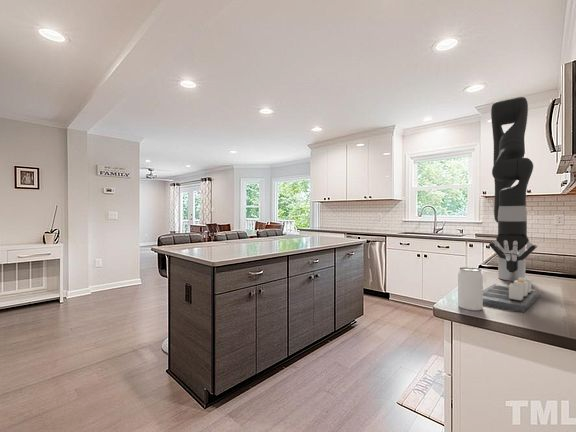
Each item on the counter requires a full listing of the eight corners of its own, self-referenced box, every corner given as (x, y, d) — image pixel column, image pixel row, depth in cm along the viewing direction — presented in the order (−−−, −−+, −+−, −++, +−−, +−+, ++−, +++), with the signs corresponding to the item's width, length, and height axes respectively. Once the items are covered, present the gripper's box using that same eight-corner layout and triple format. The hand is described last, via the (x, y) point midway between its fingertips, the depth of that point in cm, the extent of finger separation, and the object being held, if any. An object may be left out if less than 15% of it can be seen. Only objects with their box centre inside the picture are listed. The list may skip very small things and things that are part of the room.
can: (486, 311, 86) (486, 271, 85) (462, 310, 87) (462, 270, 87) (477, 304, 92) (477, 267, 92) (454, 303, 93) (454, 266, 93)
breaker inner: (520, 289, 100) (520, 277, 100) (531, 290, 98) (531, 278, 98) (517, 290, 98) (518, 278, 98) (529, 292, 96) (529, 280, 96)
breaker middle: (516, 292, 96) (516, 279, 96) (527, 294, 94) (527, 280, 94) (513, 294, 94) (513, 280, 94) (525, 296, 92) (525, 282, 92)
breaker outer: (511, 296, 92) (511, 283, 92) (523, 298, 90) (523, 284, 90) (508, 298, 91) (508, 284, 90) (520, 300, 88) (521, 286, 88)
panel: (494, 288, 110) (494, 283, 110) (539, 296, 100) (539, 289, 100) (473, 302, 94) (473, 295, 94) (523, 313, 84) (523, 305, 84)
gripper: (540, 219, 93) (540, 273, 93) (491, 218, 103) (491, 267, 103) (535, 220, 88) (535, 277, 89) (485, 219, 98) (485, 270, 99)
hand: (512, 271), depth 96 cm, fingers closed
